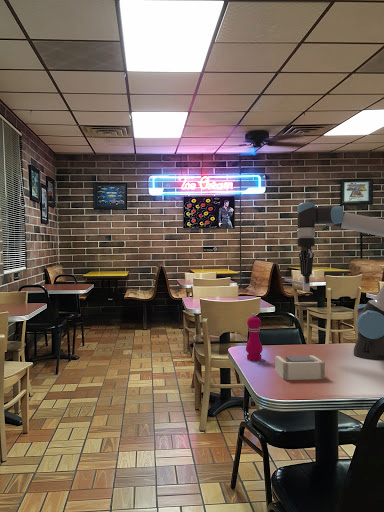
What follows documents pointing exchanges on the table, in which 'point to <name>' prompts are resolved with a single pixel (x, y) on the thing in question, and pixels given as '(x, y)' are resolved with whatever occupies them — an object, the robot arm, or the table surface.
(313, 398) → the table surface
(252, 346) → the pepper mill
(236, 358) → the table surface
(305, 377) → the bay
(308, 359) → the rounded grey cube
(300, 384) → the table surface
